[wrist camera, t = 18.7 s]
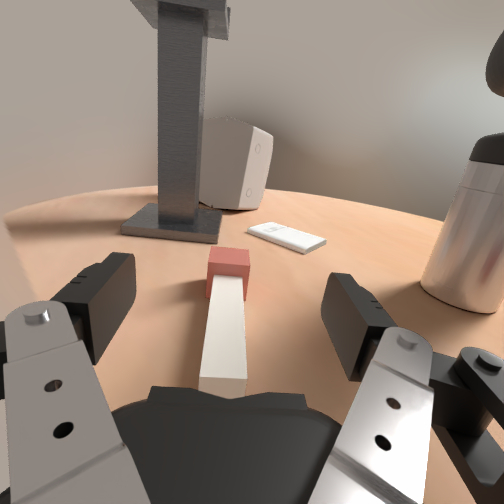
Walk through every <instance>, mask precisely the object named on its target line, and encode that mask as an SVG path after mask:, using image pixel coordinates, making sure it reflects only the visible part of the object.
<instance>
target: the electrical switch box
mask: <svg viewBox="0 0 504 504" xmlns="http://www.w3.org/2000/svg"><path fill="white" fill-rule="evenodd" d="M227 119H228V120H227ZM272 150H273V136H271V135H270V134H268V133H266V132H264V131H262V130H260V129H258V128H256V127H254V126H252V125H250V124H247V123H244V122H242V121H239V120H236V119H233V118H231V117H228V116H225V117H218V118H210V119H203V132H202V151H201V170H200V188H199V201H200V202H202V203H204V204H206V205H208V206H209V207H212V205H213V208H222V209H239V210H254V209H258V207H259V205H260V202H261V200H262V197H263V194H264V189H265V184H266V180H267V175H268V170H269V166H270V161H271V156H272Z"/></svg>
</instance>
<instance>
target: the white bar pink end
mask: <svg viewBox="0 0 504 504" xmlns="http://www.w3.org/2000/svg"><path fill="white" fill-rule="evenodd" d="M249 272H250V259H249V250H246V249H236V248H225V247H215V246H211V250H210V255H209V260H208V271H207V285H206V298H211V299H210V306H209V312H208V319H207V326H206V333H205V340H204V347H203V354H202V361H201V368H200V375H199V387H198V390H199V391H202V392H206V393H209V394H213V395H216V396H220V397H223V398H227V399H234V398H239V397H245V391H246V385H247V360H246V341H245V322H244V302H243V301H246V293H247V286H248V279H249Z"/></svg>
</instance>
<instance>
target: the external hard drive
mask: <svg viewBox="0 0 504 504" xmlns="http://www.w3.org/2000/svg"><path fill="white" fill-rule="evenodd" d="M247 233H249V234H252V235H255V236H257V237H260V238H263V239H265V240H268V241H270V242H273V243H276V244H278V245H281V246H284V247H286V248H289V249H292V250H294V251H297V252H300V253H302V254H307V253H309V252H311V251H313V250H315V249H317V248H319V247H321V246H323V245H325V244H326V241H327V240H326V239H324V238H320V237H317V236H314V235H311V234H308V233H305V232H302V231H298V230H295V229H292V228H289V227H286V226H283V225H280V224H276V223H273V222H268V223H264V224H260V225H257V226H253V227H249V228H248V229H247Z"/></svg>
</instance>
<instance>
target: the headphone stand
mask: <svg viewBox="0 0 504 504" xmlns="http://www.w3.org/2000/svg"><path fill="white" fill-rule="evenodd" d="M130 1H131V2H132V3H133V4H134V6H135V7H136V8H137V9H138V10H139V12H141V14H142V15H143V16H144V17H145V19H146V20H147V21H148V23H149V24H150V25H151V26H152V27H153V28H155V29H158V204H154V203H148V204H147V205H146V206H144V207H143V208H142V209H141V210H139V211H138V212H137V213H136V214H134V215H133V216H132V217H131V218H129V219H128V220H127V221H126V222H124V223H123V224H122V225H121V234H122V235H132V236H142V237H152V238H162V239H172V240H182V241H192V242H202V243H212V244H217V243H218V237H219V232H220V227H221V221H222V214H223V211H218V210H208V209H199V208H198V207H199V188H200V170H201V151H202V132H203V113H204V95H205V75H206V56H207V39H208V37H211V38H216V39H222V40H228V35H229V22H230V8H229V7H227V4H226V0H130Z"/></svg>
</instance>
